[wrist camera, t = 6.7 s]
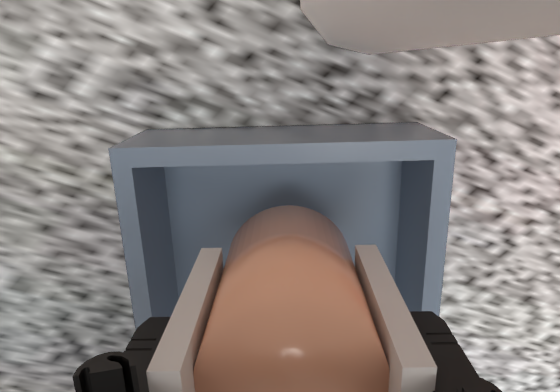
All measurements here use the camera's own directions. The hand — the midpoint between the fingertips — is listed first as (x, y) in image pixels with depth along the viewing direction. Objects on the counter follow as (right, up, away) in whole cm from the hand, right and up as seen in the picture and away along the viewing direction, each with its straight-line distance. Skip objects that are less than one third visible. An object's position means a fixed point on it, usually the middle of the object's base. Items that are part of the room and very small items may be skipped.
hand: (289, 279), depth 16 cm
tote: (0, -2, +8) cm, 8 cm away
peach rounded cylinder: (0, 0, +1) cm, 2 cm away
